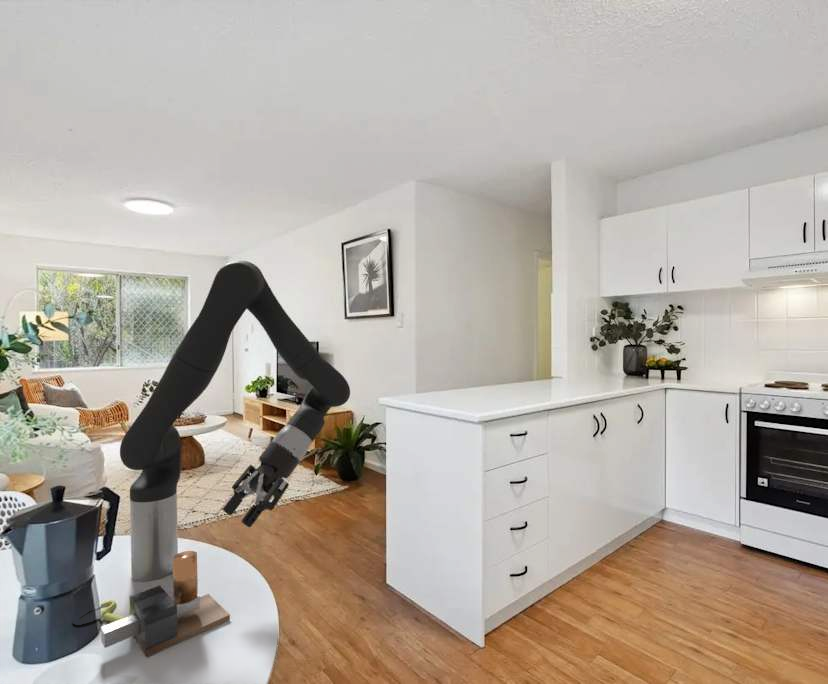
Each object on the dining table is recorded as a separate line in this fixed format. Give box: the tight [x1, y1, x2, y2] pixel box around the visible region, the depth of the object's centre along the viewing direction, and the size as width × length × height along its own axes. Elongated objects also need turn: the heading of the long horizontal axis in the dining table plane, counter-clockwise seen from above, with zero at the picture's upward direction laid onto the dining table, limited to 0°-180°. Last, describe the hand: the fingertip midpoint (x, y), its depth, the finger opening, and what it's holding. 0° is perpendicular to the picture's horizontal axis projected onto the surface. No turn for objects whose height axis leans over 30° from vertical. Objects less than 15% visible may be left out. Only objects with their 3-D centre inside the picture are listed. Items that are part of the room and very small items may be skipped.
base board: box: [133, 593, 231, 659], centre depth 85 cm, size 10×14×1 cm
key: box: [100, 600, 130, 623], centre depth 88 cm, size 7×12×2 cm, turn 82°
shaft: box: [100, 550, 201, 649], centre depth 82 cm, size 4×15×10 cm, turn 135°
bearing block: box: [129, 585, 177, 650], centre depth 82 cm, size 9×5×6 cm, turn 45°
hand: (235, 518), depth 92 cm, fingers open, 8 cm apart
